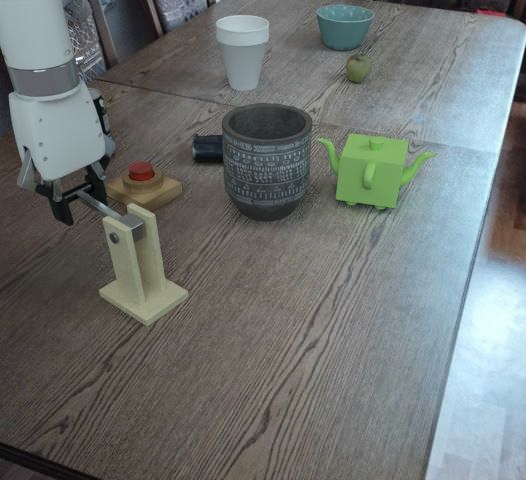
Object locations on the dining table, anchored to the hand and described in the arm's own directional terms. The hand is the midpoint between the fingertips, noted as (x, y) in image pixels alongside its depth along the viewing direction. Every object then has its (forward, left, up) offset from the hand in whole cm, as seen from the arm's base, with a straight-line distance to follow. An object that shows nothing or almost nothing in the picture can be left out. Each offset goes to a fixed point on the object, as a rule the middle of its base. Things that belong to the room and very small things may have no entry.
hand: (82, 212), depth 76 cm
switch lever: (+5, 0, +1) cm, 5 cm away
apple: (-11, +90, -10) cm, 91 cm away
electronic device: (-8, +40, -10) cm, 42 cm away
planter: (+9, +30, -10) cm, 33 cm away
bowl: (-28, +109, -10) cm, 113 cm away
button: (-10, +19, -6) cm, 22 cm away
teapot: (+21, +44, -10) cm, 50 cm away
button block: (-10, +19, -10) cm, 24 cm away
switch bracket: (+11, 0, -10) cm, 14 cm away
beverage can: (-28, +23, -10) cm, 38 cm away
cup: (-30, +69, -10) cm, 76 cm away
